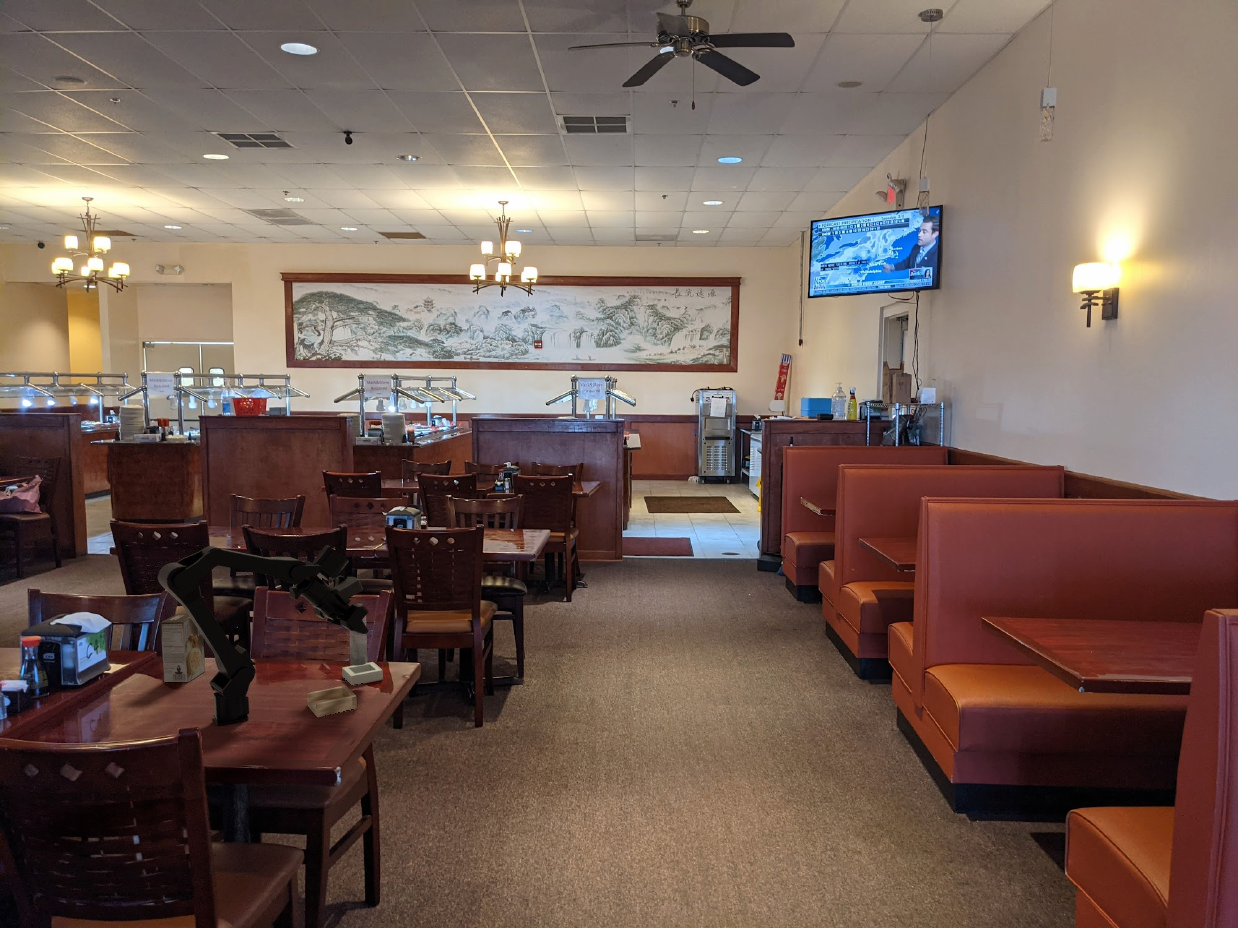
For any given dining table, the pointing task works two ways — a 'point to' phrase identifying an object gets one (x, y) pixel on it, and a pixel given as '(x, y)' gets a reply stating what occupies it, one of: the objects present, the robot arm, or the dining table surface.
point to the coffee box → (181, 649)
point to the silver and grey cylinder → (358, 647)
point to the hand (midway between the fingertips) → (363, 630)
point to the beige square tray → (331, 701)
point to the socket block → (362, 673)
